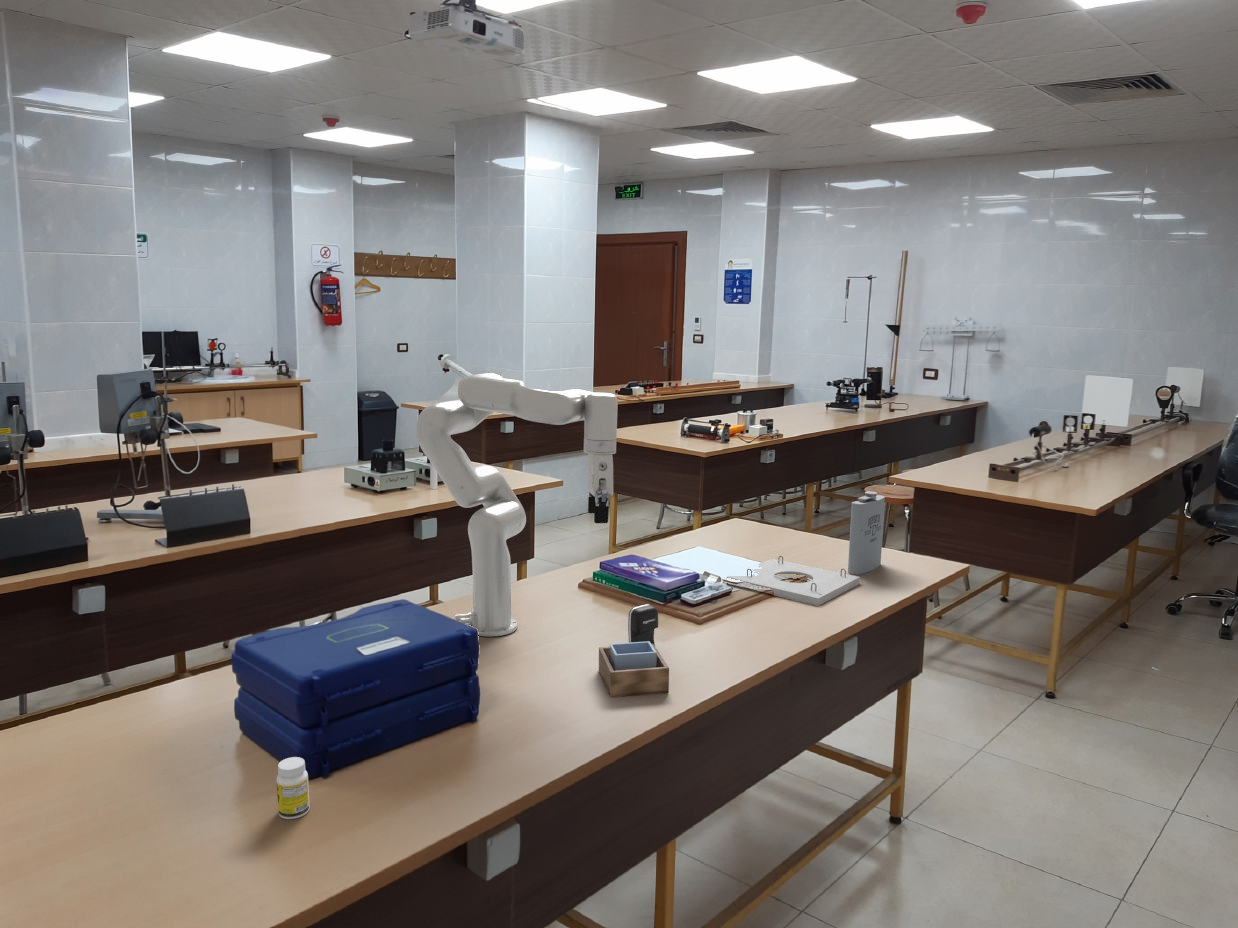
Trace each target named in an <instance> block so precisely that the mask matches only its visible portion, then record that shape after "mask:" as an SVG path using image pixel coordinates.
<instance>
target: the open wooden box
mask: <svg viewBox="0 0 1238 928" xmlns="http://www.w3.org/2000/svg"><path fill="white" fill-rule="evenodd" d="M654 644H655V643H654ZM654 644H652V646H653V648H654V649H655V651H656V652H657V661H656V668H644V669H630V670H617V671H614V670H613V668H612V666H611V664H610V662H609V657H610V646H601V647H598V672H599V674H600V677H601V680H602V681H603V683H604V686H605V688H606V690H607V692H608V694H609V697H610V698H617V697H618V698H619V697H629V696H630V697H631V696H643V695H655V694H656V695H657V694H666V693H667V694H668V693H669V691H670V689H669V688H670V686H669V685H670V667H669V666H668V664H667V663H666V660H665V659H664V658H663V656H662V655H661V653H660V651H659V650H658V649H657V647H656V645H655V646H654Z"/></svg>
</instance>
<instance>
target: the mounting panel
mask: <svg viewBox="0 0 1238 928" xmlns="http://www.w3.org/2000/svg"><path fill="white" fill-rule="evenodd" d="M777 558H778V559H775V558H770V559H767V560H765V561H763V562H760V563H758V564H757V565H759V566H758V567H759V568H760V567H762V569H754V570H753V569H752V570H753V571H755V572H754V573H757V574H758V575H757V576H755V575H754V574H753V575H752V572H753V571H752V570H751V569H748V568H746V569H747V576H730V575H728V576H726V579H727V578H731V579H735V580H740V581H744V582H746V583H750V584H752V585H756V586H761V587H765V588H770V589H772V590H773V591H774V595H773V596H776V597H779V598H782V599H789V600H792V601H796V602H797V601H798V602H801V603H806V604H808V605H813V606H816V607H817V606H818V607H819V606H821V605H822V604H824V603H826V602H828V601H830V600H831V599H834V598H836V597H837V596H839V595H841V594H843V593H845V592H847V591H848V590H850V589H852V588H855V587H857V586H858V585H859V584H860V583H861V582H860V581H861V580H860V579H861V577H860V576H859V575H858V576H857V575H854V574H849V573H848V574H847V571H846V569H845V568H841V569H840V572H837V571H833V570H829V569H824V568H819V567H813V566H809V565H803V564H799V563H794V562H790V561H786V560H784V557H783V556H782V555H779V556H778V557H777ZM780 558H782V559H781V560H780ZM748 570H750V571H751V576H748ZM842 571H844V573H843V572H842ZM758 572H759V573H758ZM777 574H796V575H805V576H806V577H808V578H807V579H808V580H807V582H805V581H804V582H790V581H784V580H778V579H776V578H775V577H774V575H777ZM749 575H750V574H749Z"/></svg>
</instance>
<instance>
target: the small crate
mask: <svg viewBox="0 0 1238 928" xmlns="http://www.w3.org/2000/svg"><path fill="white" fill-rule="evenodd" d="M609 647H610V657H609V662H610V664H611V666H612V668H613V670H614V671H617V670H630V669H644V668H656V661H657V652H656V651H655V649H654V648H653V646H652V644H651V643H650V641H647V642H632V643H629V642H621V643H617V642H616V643H609Z"/></svg>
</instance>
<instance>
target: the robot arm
mask: <svg viewBox="0 0 1238 928" xmlns="http://www.w3.org/2000/svg"><path fill="white" fill-rule="evenodd" d="M457 386H458V387H457V398H458V399H454V400H445V401H439V402H435V403H432V404H429V405H428V406H426V407H425V408H423V409H422V411H420V413H419V414H418V416H417V419H416V422H415V436H416V440H417V443H418V445H419V447H420V449H421V450H422V452H423V454H424V455H425V456H426V457H427V459H428V460H429V462H430V463H431V465H432V466H433V467H434V469H435V470H436V473H437V474H438V476H439V477H440V479H441V480H442V482H443V484H444V486H445V487H446V489H447V490H448V491H449V494H450V495H451V497H452V498H453V500H454V501H455V502H456V504H457V505H458V506H459V507H462V508H465V509H466V508H473V507H477V506H479V505H483V507H482V508H480V509H478V510H477V511H475V512H474V513H473V514H472V516H471V517H470V518H469V521H468V524H467V532H468V533H467V534H468V539H469V542H470V549H471V563H472V564H471V565H472V567H471V569H472V601H473V602H472V605H473V606H472V607H473V608H471V611H469V612H467V613H455V615H454V617H455V619H456V620H457V621H459V623H460V622H462V623H464V624H467V626H468V625H471V626H473V627H474V628H477V629H478V632H479V637H487V638H488V637H490V638H491V637H492V638H493V637H501V636H506V635H509V634H511V633H514V632H515V631H516V630H517V629H518V621H517V620H516V619H515V618H513V617H512V579H511V578H512V572H511V571H512V570H511V569H512V566H511V563H512V562H511V555H510V551H509V548H508V545H507V540H508V539H510V538H513V537H514V536H516V535H518V534H520V533H521V532H522V531H523V530H524V528H525V526H526V523H527V516H526V512H525V508H524V507H523V505H522V503H521V501H520V499H518V497H517V495H516V494H515V492H514V491H513V489H512V487H511V485H510V484H509V482H508V481H507V480H506V478H505V476H504V475H503V473H501V472H500V471H499V470H498V469H496V468H495V467H494V466H492V465H488V464H487V465H486V464H483V465H482V464H481V465H477V466H475V464H474V463H473V462H472V461H471V460H470V458H469V456H468V455H467V453H466V452H465V450H464V449H463V448H462V447H461V446H460V444H458V443H457V442H456V441H454V440H453V438H452V437H451V435H457V434H461V433H466V432H468V431H471V430H473V429H474V428H476V427H477V426H478V425H479V424H481V423H482V422H483V421H484V420H485V419H486V418H488V417H489V416H490V415H491V414H492V413H497V414H503V415H509V416H515V417H517V418H520V419H523V420H526V421H529V422H534V423H541V424H542V423H543V424H546V425H547V424H549V425H555V426H557V425H559V426H561V425H562V426H563V425H566V424H570V423H575V422H579V421H584V422H583V423H584V425H583V426H584V427H583V428H584V430H583V431H584V433H583V435H584V437H583V453H584V454H588V455H587V471H586V472H587V474H586V475H587V478H586V479H587V482H586V483H587V489H588V497H587V499H588V501H587V502H588V504H587V505H588V506H587V512H588V514H594V515H593V518H594V519H593V523H595V524H608V523H609V508H610V507H609V497H612V496H613V495H614V459H613V455H615V454H617V436H618V433H617V432H618V404H619V403H618V397H617V395H616V394H614V393H611V392H601V391H600V392H597V391H596V392H592V391H587V390H583V389H578V388H575V389H572V388H571V389H565V390H560V391H552V390H551V391H549V390H544V389H543V390H542V389H536V388H532V387H528V386H527V384H526V383H525V382H524V381H522V380H520V379H519V380H518V379H511V378H503V376H501V375H499V374H496V373H493V372H489V373H488V372H485V373H477V374H476V373H475V374H471V375H468V376H466V377H464V378H463V379H462V380H461V381H460V383H459V384H458V385H457Z"/></svg>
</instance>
